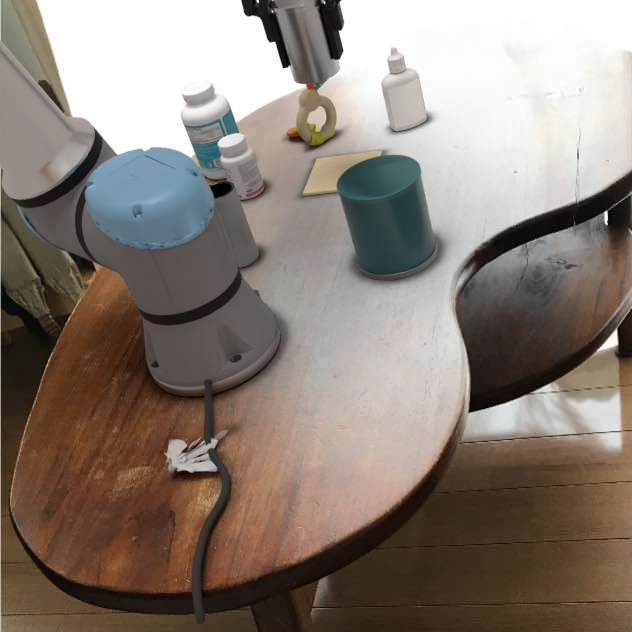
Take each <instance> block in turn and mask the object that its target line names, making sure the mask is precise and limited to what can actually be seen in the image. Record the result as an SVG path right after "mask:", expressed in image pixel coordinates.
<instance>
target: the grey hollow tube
mask: <svg viewBox="0 0 632 632" xmlns="http://www.w3.org/2000/svg"><path fill="white" fill-rule="evenodd" d="M208 185H209V186H210V188H211V191H212V193H213V196H214V203H215V205H216V208H217V211H218V213H219V216H220V219H221V221H222V224H223V227H224V229H225V232H226V235H227V237H228V240H229V243H230V245H231V248H232V251H233V253H234V256H235V259H236V261H237V264H238V267H239V269H242V268H245V267H247V266H249V265H251V264H253V263H254V262H255V261H256V260H257V259H258V257H259V255H260V254H259V253H260V252H259V249H258V247H257V243H256V241H255V238H254V236H253V233H252V229H251V227H250V225H249V222H248V219H247V216H246V213H245V210H244V207H243V204H242V202H241V200H240V199H239V196H238V193H237V191H236V188H235V185H234V184H233V183H232V182H230V181H228V180H220V181H215V182H213V183H212V182H211V184H208Z"/></svg>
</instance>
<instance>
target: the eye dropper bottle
mask: <svg viewBox="0 0 632 632" xmlns="http://www.w3.org/2000/svg"><path fill="white" fill-rule="evenodd" d="M386 61H387V66H388V70H389V73H387V74H386V75H385V76H384V77H383V78H382V80H381V82H380V87H381V91H382V96H383V100H384V105H385V110H386V113H387V114H386V115H387V119H388V122H389V126H390V128H391V129H392V130H393V131H394V132H400V131H402V132H403V131H406V130H409V129H410V130H411V129H413V128H415V127H418V126H419V125H421V124H423V123H425V122H426V121H427V120H428V115H427V110H426V106H425V105H426V104H425V99H424V94H423V89H422V83H421V79H420V75H419V73H418V71H417V70H416V69H414V68H411V67H407V65H406V60H405V55H404V54H403V53H401V52H399V51H398V49H397V47H396V46H395V45H394V46H391V47H390V54H389V55H388V56H387V58H386Z"/></svg>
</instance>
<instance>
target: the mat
mask: <svg viewBox="0 0 632 632" xmlns="http://www.w3.org/2000/svg"><path fill="white" fill-rule="evenodd" d="M382 154H383V150H382V149H381V150H380V149H379V150H373V151H365V152H357V153H348V154H343V155H342V154H340V155H333V156H325V157H317V158H316V159H315V162H314V164H313V167H312V169H311V172H310V174H309V177H308V179H307V181H306V184H305V186H304V189H303V191H302V196H303V197H306V196H314V195H316V196H317V195H324V194H325V195H326V194H331V193H332V194H333V193H338V191H337V181H338V179H339V177H340V176H341V175H342V174H343V173H344V172H345V171H346V170H347V169H349V168H350V167H352V166H353V165H355V164H357V163H359V162H361V161H364V160H367V159H370V158H373V157H377V156H383V155H382Z"/></svg>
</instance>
